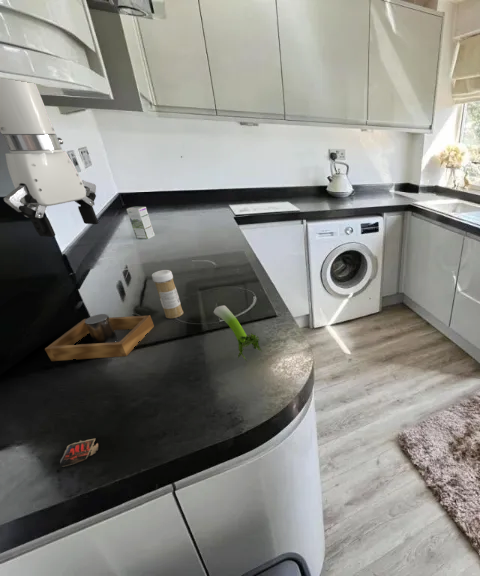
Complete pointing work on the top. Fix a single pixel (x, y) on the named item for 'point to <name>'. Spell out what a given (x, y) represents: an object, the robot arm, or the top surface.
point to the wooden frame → (69, 351)
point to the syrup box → (140, 222)
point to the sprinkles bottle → (167, 293)
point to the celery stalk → (237, 329)
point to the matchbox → (78, 452)
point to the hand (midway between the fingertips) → (71, 229)
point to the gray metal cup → (101, 329)
